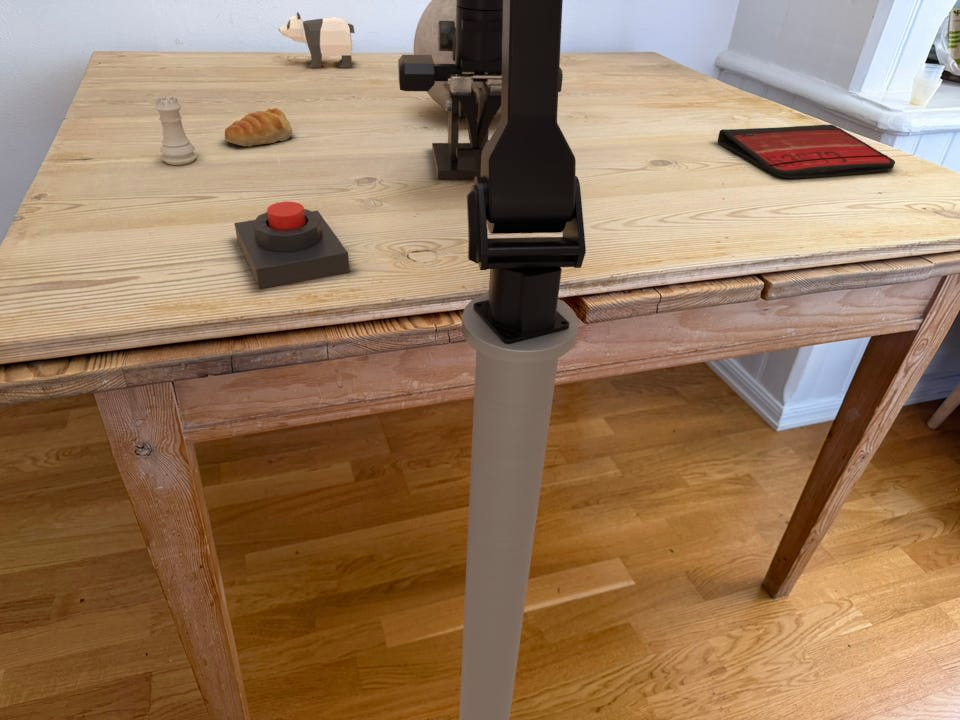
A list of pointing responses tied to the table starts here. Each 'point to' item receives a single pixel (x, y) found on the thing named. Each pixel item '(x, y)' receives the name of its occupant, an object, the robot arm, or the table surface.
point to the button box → (291, 250)
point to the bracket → (446, 152)
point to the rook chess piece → (173, 133)
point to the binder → (805, 151)
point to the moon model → (428, 45)
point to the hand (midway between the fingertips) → (476, 146)
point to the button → (286, 216)
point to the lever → (469, 150)
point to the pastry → (259, 128)
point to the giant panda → (322, 38)
